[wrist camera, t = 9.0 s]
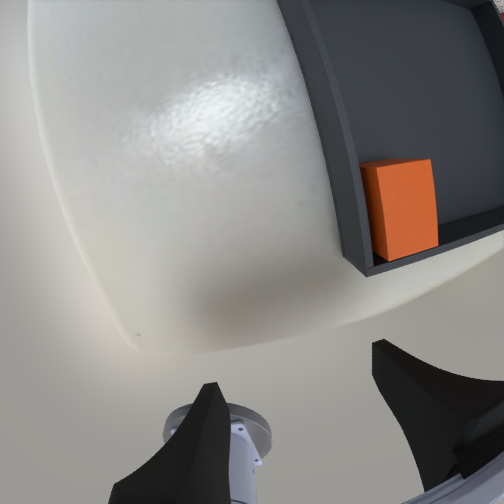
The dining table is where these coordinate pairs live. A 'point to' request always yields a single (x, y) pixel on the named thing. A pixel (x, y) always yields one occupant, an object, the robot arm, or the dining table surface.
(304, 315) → the dining table surface
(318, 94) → the bin
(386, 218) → the orange block
